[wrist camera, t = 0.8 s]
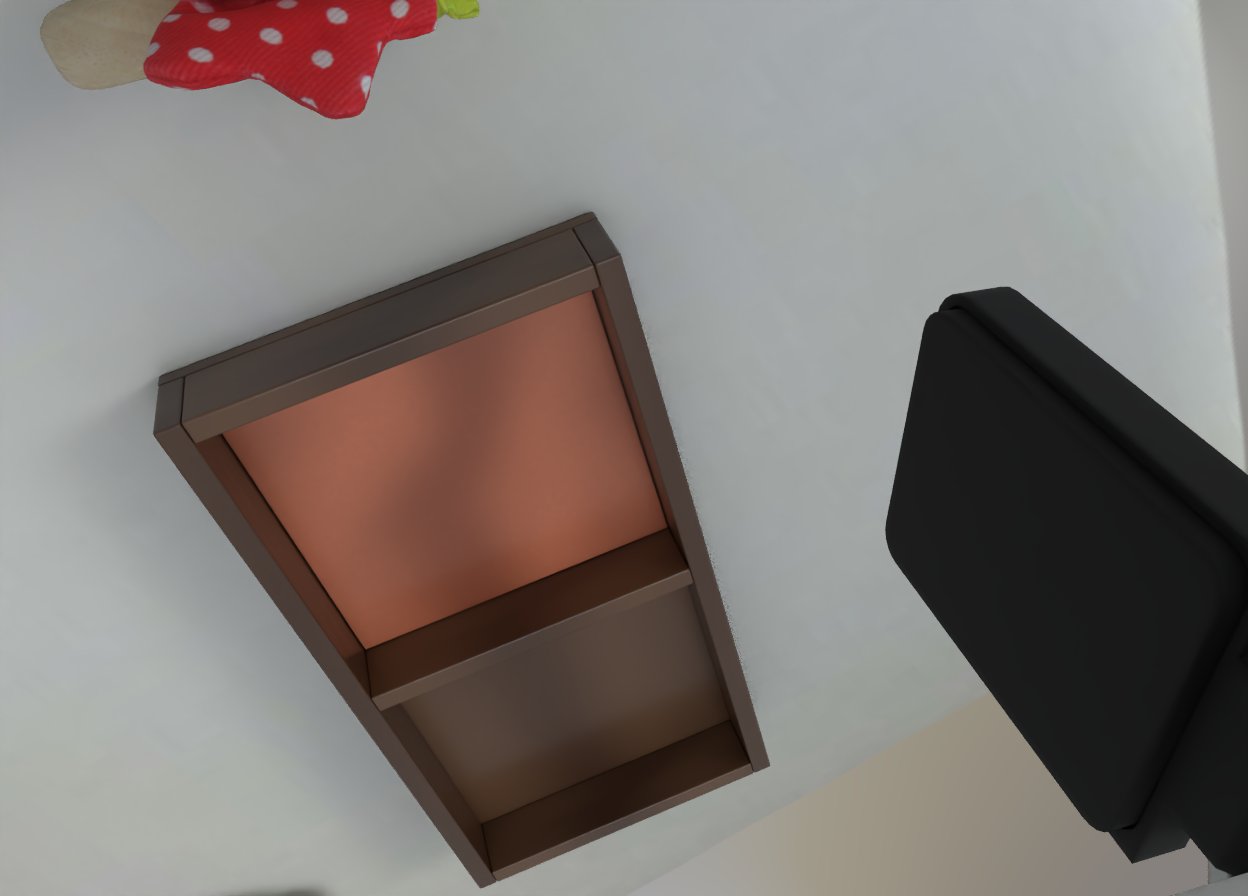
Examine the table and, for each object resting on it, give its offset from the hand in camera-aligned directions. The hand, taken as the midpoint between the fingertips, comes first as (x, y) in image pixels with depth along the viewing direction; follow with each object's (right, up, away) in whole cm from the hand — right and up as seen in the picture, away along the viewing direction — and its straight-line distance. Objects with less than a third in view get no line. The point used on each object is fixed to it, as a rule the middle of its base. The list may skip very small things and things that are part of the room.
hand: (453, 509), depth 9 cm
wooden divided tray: (-2, -5, +30) cm, 30 cm away
